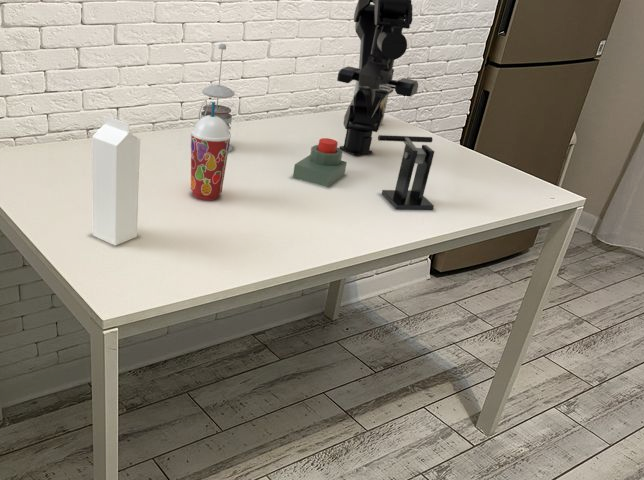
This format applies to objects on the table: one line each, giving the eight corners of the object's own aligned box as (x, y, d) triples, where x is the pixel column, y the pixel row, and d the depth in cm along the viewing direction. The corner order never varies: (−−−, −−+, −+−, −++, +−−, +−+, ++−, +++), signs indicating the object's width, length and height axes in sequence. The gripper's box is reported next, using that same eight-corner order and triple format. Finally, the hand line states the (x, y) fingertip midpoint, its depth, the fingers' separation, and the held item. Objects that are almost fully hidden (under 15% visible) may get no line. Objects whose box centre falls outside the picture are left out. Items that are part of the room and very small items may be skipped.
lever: (376, 141, 168) (379, 131, 167) (428, 143, 171) (432, 133, 170) (391, 163, 161) (394, 153, 160) (445, 164, 164) (449, 154, 163)
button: (321, 147, 179) (323, 136, 178) (338, 151, 177) (340, 141, 176) (314, 151, 176) (316, 140, 174) (331, 156, 174) (333, 145, 173)
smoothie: (229, 193, 163) (239, 101, 152) (217, 206, 156) (226, 110, 145) (194, 185, 165) (201, 94, 154) (180, 197, 158) (187, 103, 147)
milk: (114, 227, 143) (116, 112, 131) (137, 237, 140) (141, 120, 128) (91, 235, 138) (91, 117, 126) (115, 246, 136) (117, 126, 124)
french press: (239, 147, 190) (250, 45, 177) (215, 157, 182) (225, 51, 168) (208, 138, 194) (216, 37, 181) (182, 147, 186) (189, 42, 172)
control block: (311, 165, 184) (315, 141, 181) (345, 174, 181) (349, 150, 178) (292, 178, 175) (296, 153, 172) (327, 187, 172) (331, 162, 169)
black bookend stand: (381, 194, 172) (393, 140, 165) (416, 195, 174) (430, 141, 167) (395, 210, 164) (409, 154, 157) (432, 210, 166) (447, 155, 159)
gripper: (334, 47, 171) (323, 115, 179) (412, 63, 164) (396, 132, 173) (351, 41, 179) (339, 106, 188) (425, 56, 173) (410, 123, 181)
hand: (370, 117), depth 182 cm, fingers closed
